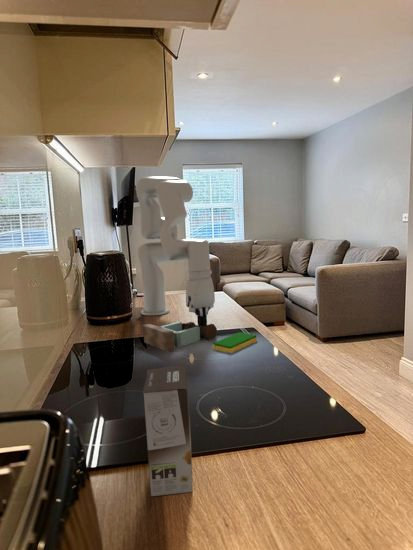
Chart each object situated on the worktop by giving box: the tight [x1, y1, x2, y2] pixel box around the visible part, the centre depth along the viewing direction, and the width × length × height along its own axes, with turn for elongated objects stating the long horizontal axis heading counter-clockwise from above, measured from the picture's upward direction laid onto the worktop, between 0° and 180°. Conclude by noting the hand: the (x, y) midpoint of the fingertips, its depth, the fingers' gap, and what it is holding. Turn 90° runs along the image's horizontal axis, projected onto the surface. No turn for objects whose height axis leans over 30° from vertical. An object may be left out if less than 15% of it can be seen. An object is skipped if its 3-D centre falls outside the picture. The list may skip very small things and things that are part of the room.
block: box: [159, 321, 201, 348], centre depth 127 cm, size 12×10×4 cm
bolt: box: [182, 321, 218, 341], centre depth 132 cm, size 6×5×15 cm
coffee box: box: [142, 365, 193, 497], centre depth 58 cm, size 9×6×16 cm
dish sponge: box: [212, 331, 258, 353], centre depth 120 cm, size 7×14×2 cm, turn 138°
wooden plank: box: [142, 323, 176, 353], centre depth 122 cm, size 14×2×6 cm, turn 41°
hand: (202, 325), depth 134 cm, fingers closed
